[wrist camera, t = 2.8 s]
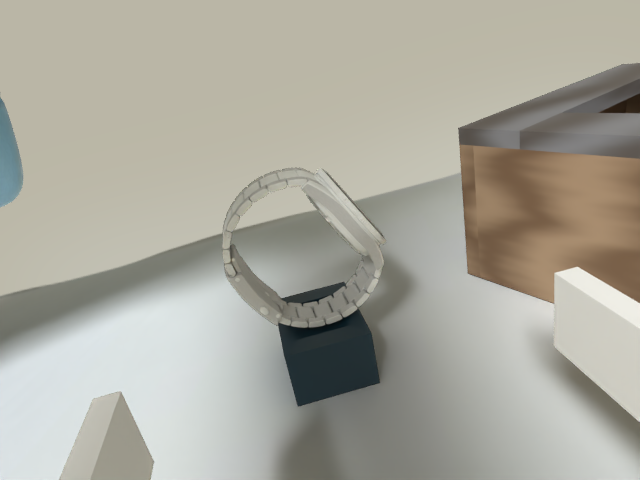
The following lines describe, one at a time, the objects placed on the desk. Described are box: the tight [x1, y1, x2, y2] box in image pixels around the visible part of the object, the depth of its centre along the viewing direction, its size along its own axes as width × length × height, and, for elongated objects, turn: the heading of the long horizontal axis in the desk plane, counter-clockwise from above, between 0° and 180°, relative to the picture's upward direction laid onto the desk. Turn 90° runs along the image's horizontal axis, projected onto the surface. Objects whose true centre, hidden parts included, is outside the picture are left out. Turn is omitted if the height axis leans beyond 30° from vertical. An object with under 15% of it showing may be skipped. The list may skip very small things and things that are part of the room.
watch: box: [222, 168, 386, 406], centre depth 23 cm, size 6×8×11 cm
